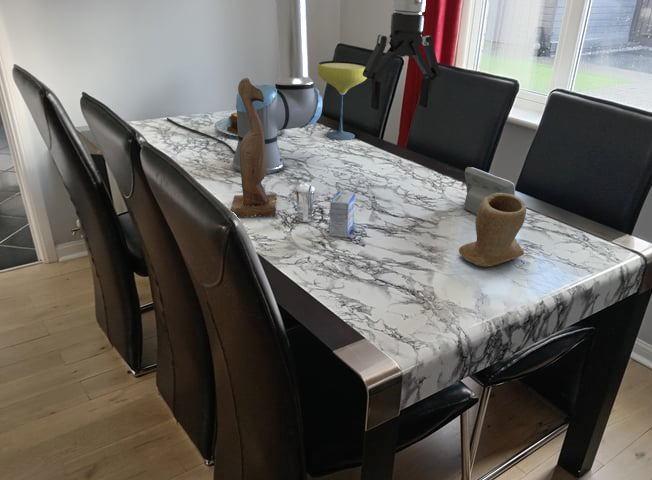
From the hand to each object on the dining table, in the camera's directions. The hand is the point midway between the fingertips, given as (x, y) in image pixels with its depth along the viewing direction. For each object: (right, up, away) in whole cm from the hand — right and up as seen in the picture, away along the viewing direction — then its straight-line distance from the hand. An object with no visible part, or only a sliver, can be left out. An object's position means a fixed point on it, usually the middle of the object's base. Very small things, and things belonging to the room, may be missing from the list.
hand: (399, 107), depth 143 cm
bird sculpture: (-37, -25, +4) cm, 45 cm away
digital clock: (+24, -25, +12) cm, 36 cm away
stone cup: (+20, -38, -14) cm, 46 cm away
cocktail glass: (-16, +12, +72) cm, 74 cm away
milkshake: (-23, -28, 0) cm, 37 cm away
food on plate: (-49, +13, +70) cm, 87 cm away
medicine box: (-14, -31, -4) cm, 35 cm away
